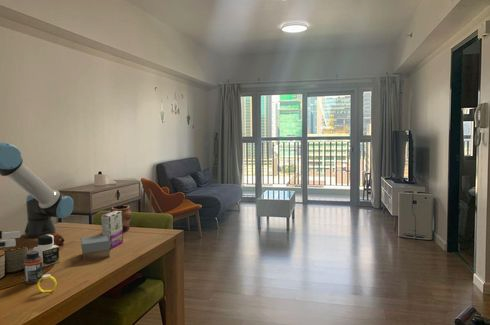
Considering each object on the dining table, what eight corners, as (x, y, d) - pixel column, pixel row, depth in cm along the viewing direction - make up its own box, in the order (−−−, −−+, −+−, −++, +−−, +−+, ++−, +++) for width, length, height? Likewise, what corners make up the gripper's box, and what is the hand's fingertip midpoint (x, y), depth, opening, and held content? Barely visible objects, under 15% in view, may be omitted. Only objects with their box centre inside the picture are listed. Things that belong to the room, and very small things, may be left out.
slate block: (81, 246, 168) (80, 237, 168) (106, 242, 173) (106, 234, 173) (82, 253, 158) (82, 244, 158) (109, 249, 163) (108, 240, 163)
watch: (37, 294, 126) (35, 278, 126) (40, 291, 129) (38, 275, 128) (55, 292, 127) (53, 275, 127) (58, 288, 130) (56, 272, 129)
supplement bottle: (30, 278, 140) (28, 249, 139) (46, 277, 140) (44, 249, 139) (21, 284, 134) (20, 254, 133) (38, 284, 134) (37, 254, 133)
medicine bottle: (43, 267, 152) (41, 239, 151) (34, 263, 155) (32, 236, 154) (59, 261, 158) (58, 234, 157) (50, 259, 161) (49, 232, 160)
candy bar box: (114, 242, 186) (113, 210, 185) (123, 242, 185) (122, 210, 184) (101, 248, 175) (100, 215, 174) (111, 249, 174) (110, 215, 173)
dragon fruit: (66, 252, 175) (40, 257, 174) (68, 238, 182) (43, 243, 180) (60, 241, 170) (32, 246, 168) (62, 227, 176) (36, 232, 174)
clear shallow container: (82, 254, 169) (82, 245, 169) (107, 251, 174) (107, 242, 173) (83, 261, 159) (82, 252, 159) (109, 258, 164) (109, 249, 163)
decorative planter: (129, 235, 199) (128, 210, 198) (105, 236, 197) (104, 210, 196) (134, 225, 219) (133, 203, 218) (112, 226, 217) (112, 203, 216)
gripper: (-37, 245, 153) (21, 239, 162) (-56, 264, 131) (13, 255, 140) (-38, 228, 153) (21, 223, 162) (-57, 243, 130) (12, 236, 139)
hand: (17, 238), depth 151 cm, fingers open, 13 cm apart
